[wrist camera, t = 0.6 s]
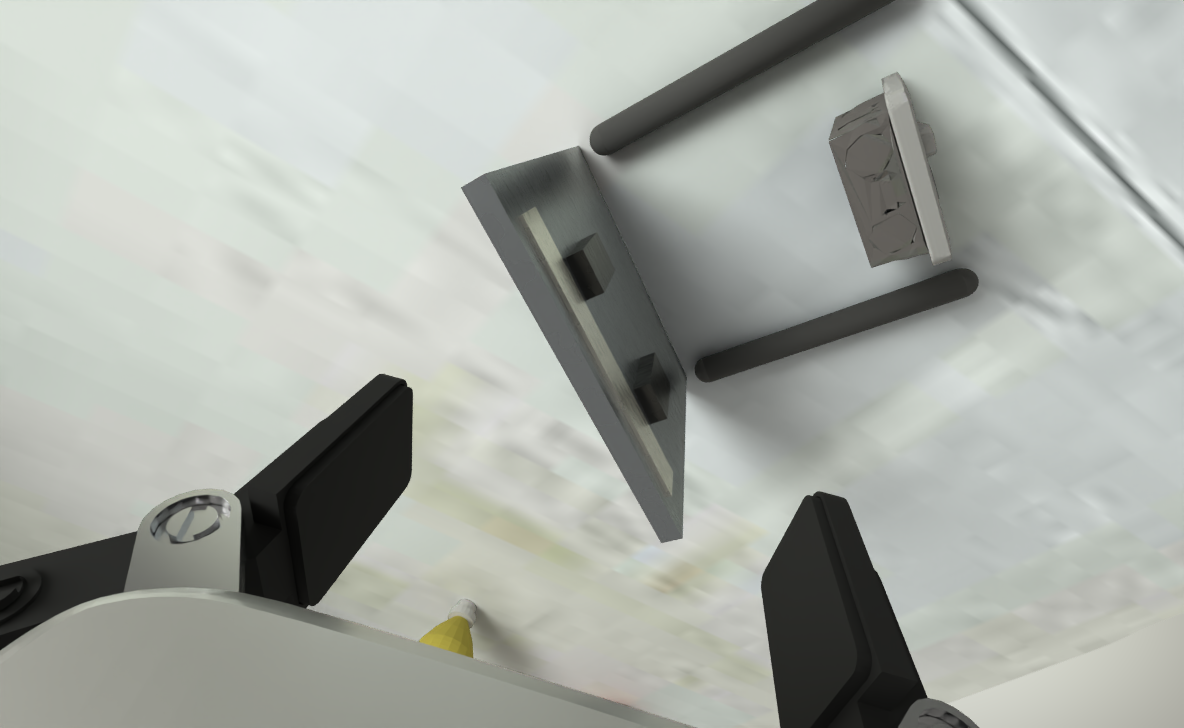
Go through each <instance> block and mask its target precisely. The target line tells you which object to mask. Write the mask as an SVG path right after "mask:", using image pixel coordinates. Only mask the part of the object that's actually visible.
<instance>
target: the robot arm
mask: <svg viewBox="0 0 1184 728" xmlns="http://www.w3.org/2000/svg"><path fill="white" fill-rule="evenodd" d="M412 414H413V391H412V389H411V388H410V387H407V383H406V381H405V380H404V379H400V378H396V377H392V376H389V375H385V374H379V375H377V376H376V377H375V378H374V379H373V380H371V381H370V382H369V383H368V384H367V385H365V386H364V387H363V388H362V389H361V390H359V391H358V392H357V393H356V394H355V395H354V396H352V397H351V398H350V399H349V400H348V401H346V402H345V403H344V404H343V405H342V406H340V407H339V408H338V409H337V410H336V411H335V412H333V413H332V414H331V415H330V416H329V417H327V418H326V419H324V420H322V421H321V422H319V423H318V424H317V425H316V426H315V427H313V428H312V429H311V430H310V431H309V432H307V433H306V434H305V435H304V436H303V437H301V438H300V439H299V440H298V441H297V442H296V443H294V444H293V445H292V446H291V447H290V448H288V449H287V450H286V451H285V452H284V453H282V454H281V455H280V456H279V457H278V458H276V459H275V460H274V461H273V462H272V463H270V464H269V465H268V466H267V467H266V468H264V469H263V470H262V471H261V472H260V473H259V474H257V475H256V476H255V477H254V478H253V479H251V480H250V481H249V482H248V483H247V484H245V485H244V486H243V487H242V488H241V489H239V490H238V491H237V492H236V493H235V494H232V493H230V492H227V491H224V490H218V489H202V490H194V491H190V492H186V493H183V494H179V495H177V496H175V497H173V498H170V499H168V500H166V501H164V502H163V503H161V504H159V505H158V506H156V507H155V508H153V509H152V510H151V511H150V512H149V513H148V514H147V515H146V516H145V517H144V518H143V520H142V522H141V524H140V526H139V528H138V531H136V532H132V533H128V534H124V535H120V536H116V537H113V538H109V539H105V540H101V541H97V542H93V543H89V544H85V545H81V546H77V547H73V548H69V549H65V550H61V551H57V552H53V553H49V554H45V555H41V556H37V557H33V558H29V559H25V560H21V561H17V562H13V563H9V564H5V565H1V566H0V728H696V727H693V726H690V725H686V724H683V723H680V722H677V721H674V720H671V719H667V718H664V717H661V716H658V715H655V714H651V713H648V712H645V711H642V710H639V709H636V708H632V707H629V706H626V705H623V704H620V703H616V702H613V701H610V700H607V699H604V698H600V697H597V696H594V695H591V694H587V693H584V692H581V691H578V690H575V689H571V688H568V687H565V686H562V685H558V684H555V683H552V682H549V681H545V680H542V679H539V678H536V677H532V676H529V675H526V674H523V673H519V672H516V671H513V670H510V669H506V668H503V667H500V666H497V665H493V664H490V663H487V662H484V661H480V660H477V659H474V658H471V657H467V656H464V655H461V654H457V653H454V652H451V651H447V650H444V649H441V648H438V647H434V646H431V645H428V644H424V643H421V642H418V641H414V640H411V639H408V638H404V637H401V636H398V635H394V634H391V633H388V632H385V631H381V630H378V629H375V628H371V627H368V626H365V625H361V624H358V623H355V622H351V621H348V620H344V619H341V618H337V617H334V616H330V615H327V614H323V613H319V612H316V611H312V610H309V609H306V608H307V607H308V605H310V606H315V605H316V604H317V603H319V601H320V600H321V599H322V598H323V596H324V595H325V594H326V593H327V591H328V590H329V589H330V587H331V586H332V585H333V583H334V582H335V581H336V579H337V578H338V577H339V575H340V574H341V573H342V571H343V570H344V569H345V568H346V566H347V565H348V564H349V562H350V561H351V560H352V558H353V557H354V556H355V554H356V553H357V552H358V550H359V549H360V548H361V546H362V545H363V544H364V543H365V541H366V540H367V539H368V537H369V536H370V535H371V533H372V532H373V531H374V529H375V528H376V527H377V525H378V524H379V523H380V521H381V520H382V519H383V518H384V516H385V515H386V514H387V512H388V511H389V510H390V508H391V507H392V506H393V504H394V503H395V502H396V500H397V499H398V498H399V496H400V495H401V494H402V493H403V491H404V490H405V489H406V487H407V485H408V483H409V481H410V478H411V473H412ZM761 591H762V598H763V605H764V613H765V620H766V627H767V634H768V641H769V649H770V656H771V663H772V670H773V677H774V685H775V692H776V699H777V706H778V713H779V720H780V728H979V727H978V726H977V725H976V724H975V723H974V722H973V721H972V720H971V719H970V718H968V717H967V716H965V715H964V714H963V713H961V712H960V711H959V710H957V709H956V708H954V707H952V706H950V705H948V704H946V703H944V702H942V701H939V700H934V699H930V698H927V695H926V692H925V690H924V687H923V685H922V682H921V680H920V677H919V675H918V672H917V670H916V667H915V665H914V662H913V660H912V657H911V655H910V652H909V650H908V647H907V644H906V642H905V639H904V637H903V634H902V632H901V629H900V627H899V624H898V622H897V619H896V617H895V614H894V612H893V609H892V607H891V604H890V602H889V599H888V596H887V594H886V591H885V589H884V586H883V584H882V581H881V579H880V577H879V575H878V573H877V572H876V571H875V570H874V568H873V565H872V563H871V560H870V558H869V555H868V553H867V550H866V547H865V545H864V542H863V540H862V537H861V535H860V532H859V529H858V527H857V524H856V522H855V519H854V517H853V514H852V512H851V509H850V506H849V504H848V502H847V500H846V499H845V498H842V497H839V496H835V495H831V494H827V493H824V492H820V491H819V492H816V493H815V494H814V495H813V496H810V495H807V496H806V497H805V498H804V499H803V501H802V503H801V505H800V507H799V508H798V510H797V512H796V514H795V516H794V518H793V519H792V521H791V523H790V525H789V527H788V529H787V531H786V532H785V534H784V536H783V538H782V540H781V542H780V543H779V545H778V547H777V549H776V551H775V553H774V554H773V556H772V558H771V560H770V562H769V564H768V566H767V567H766V569H765V571H764V573H763V576H762V581H761Z"/></svg>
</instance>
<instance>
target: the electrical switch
mask: <svg viewBox="0 0 1184 728" xmlns="http://www.w3.org/2000/svg"><path fill="white" fill-rule="evenodd" d="M882 84H883V90H884V93H883V94H881V95H878V96H876V97H874V98H872V99H870V100H868V101H865V102H863V103H862V104H860V105H858V106H856V107H855V108H854V109H852V110H850V111H848V112H846V113H844V114H842V115H840V116H838V117H836V118H835V121H834V124H833V128H832V131H831V134H830V138H829V140H831V139H833V138H835V137H837V138H835V139H833V140H831V141H829V144H830V147H831V150H832V153H833V156H834V159H835V162H836V165H837V168H838V171H839V174H840V177H841V180H842V183H843V185H844V188H845V191H846V194H847V197H848V200H849V203H850V206H851V209H852V212H853V215H854V218H855V221H856V224H857V227H858V230H859V233H860V236H861V239H862V242H863V245H864V248H865V251H866V254H867V257H868V260H869V262H870V265H871V268H873V267H876V266H879V265H882V264H885V263H889V262H892V261H895V260H903V259H909V258H912V257H915V256H918V255H923V254H928V253H930V257H931V260H932V263H933V266H935V265H937V264H940V263H943V262H946V261H949V260H952V256H951V248H950V240H949V236H948V232H947V229H946V225H945V221H944V218H943V214H942V211H941V207H940V203H939V200H938V199H939V196H938V193H937V189H936V185H935V182H934V178H933V174H932V171H931V168H930V166H929V163H928V160H927V157H929V156H932V155H934V154H936V152H937V148H936V143H935V139H934V134H933V131H932V129H931V127H930V125H928V124H924V123H920V122H917V120H916V116H915V113H914V109H913V105H912V102H911V98H910V95H909V92H908V89H907V87H906V85H905V83H904V81H903V80H902V78H901V77H900V75H899V74H898V72H896V73H894V74H892V75H889V76H887V77H885V78H883V79H882ZM840 135H842V136H840ZM838 136H839V137H838ZM845 163H846V167H845ZM880 177H881V178H880ZM876 179H877V180H876Z"/></svg>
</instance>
